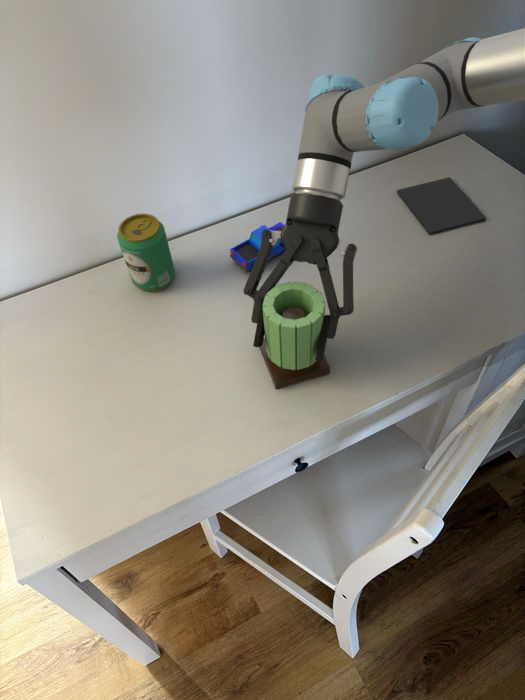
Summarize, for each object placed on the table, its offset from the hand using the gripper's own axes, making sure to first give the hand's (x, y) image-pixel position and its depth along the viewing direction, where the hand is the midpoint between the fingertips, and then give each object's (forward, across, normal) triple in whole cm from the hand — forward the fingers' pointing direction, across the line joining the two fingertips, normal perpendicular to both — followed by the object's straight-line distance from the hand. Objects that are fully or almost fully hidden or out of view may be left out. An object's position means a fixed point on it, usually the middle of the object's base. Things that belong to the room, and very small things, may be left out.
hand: (288, 352), depth 79 cm
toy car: (-14, +12, -22) cm, 29 cm away
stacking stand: (+2, 0, -7) cm, 7 cm away
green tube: (0, 0, -4) cm, 4 cm away
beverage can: (-6, +30, -14) cm, 34 cm away
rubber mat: (-29, -18, -38) cm, 51 cm away
